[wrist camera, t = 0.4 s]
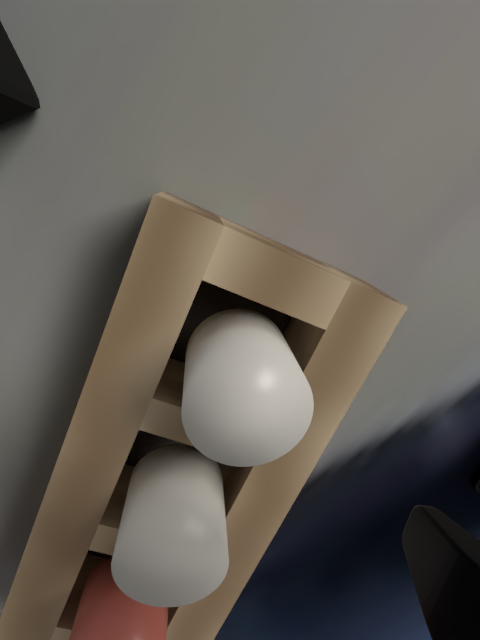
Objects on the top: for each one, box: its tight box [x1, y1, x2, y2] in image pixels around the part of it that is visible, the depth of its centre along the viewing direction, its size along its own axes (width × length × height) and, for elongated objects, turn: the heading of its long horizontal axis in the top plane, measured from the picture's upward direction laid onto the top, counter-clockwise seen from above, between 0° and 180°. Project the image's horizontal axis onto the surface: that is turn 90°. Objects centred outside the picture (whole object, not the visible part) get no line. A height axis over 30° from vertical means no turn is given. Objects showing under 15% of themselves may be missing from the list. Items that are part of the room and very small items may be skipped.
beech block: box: [0, 192, 407, 640], centre depth 19 cm, size 10×22×4 cm, turn 156°
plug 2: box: [181, 308, 314, 467], centre depth 14 cm, size 4×4×4 cm
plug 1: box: [111, 445, 229, 607], centre depth 16 cm, size 4×4×4 cm
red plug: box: [69, 558, 169, 640], centre depth 17 cm, size 4×4×4 cm
